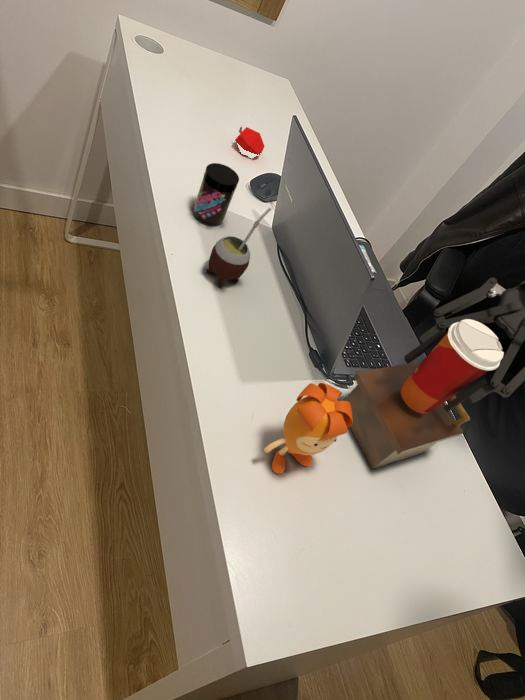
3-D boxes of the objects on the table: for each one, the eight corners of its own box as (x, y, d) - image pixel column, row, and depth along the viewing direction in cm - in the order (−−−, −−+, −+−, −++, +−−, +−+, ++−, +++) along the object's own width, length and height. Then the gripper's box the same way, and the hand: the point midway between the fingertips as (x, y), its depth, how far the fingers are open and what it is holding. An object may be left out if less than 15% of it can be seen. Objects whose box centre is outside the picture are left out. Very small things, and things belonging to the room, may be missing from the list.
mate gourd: (201, 283, 91) (226, 219, 80) (207, 256, 96) (231, 192, 85) (239, 296, 92) (269, 235, 81) (243, 268, 97) (271, 207, 86)
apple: (275, 139, 123) (252, 113, 121) (263, 153, 120) (240, 127, 117) (259, 154, 129) (237, 130, 126) (248, 168, 125) (225, 144, 122)
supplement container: (187, 205, 103) (200, 162, 95) (216, 205, 107) (231, 163, 99) (199, 227, 100) (213, 184, 93) (228, 226, 104) (244, 185, 96)
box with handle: (430, 456, 85) (476, 423, 77) (370, 476, 78) (413, 442, 70) (389, 388, 92) (427, 351, 83) (330, 401, 85) (366, 361, 76)
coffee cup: (433, 381, 81) (496, 324, 70) (444, 425, 76) (515, 370, 65) (389, 370, 79) (447, 309, 68) (397, 414, 74) (462, 356, 63)
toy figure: (261, 485, 70) (306, 437, 59) (243, 436, 74) (281, 382, 63) (328, 468, 76) (379, 421, 65) (307, 423, 80) (352, 372, 69)
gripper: (609, 352, 69) (472, 446, 71) (502, 248, 77) (382, 336, 79) (630, 338, 62) (478, 443, 64) (511, 225, 70) (379, 322, 72)
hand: (425, 384), depth 71 cm, fingers closed on coffee cup, 8 cm apart
